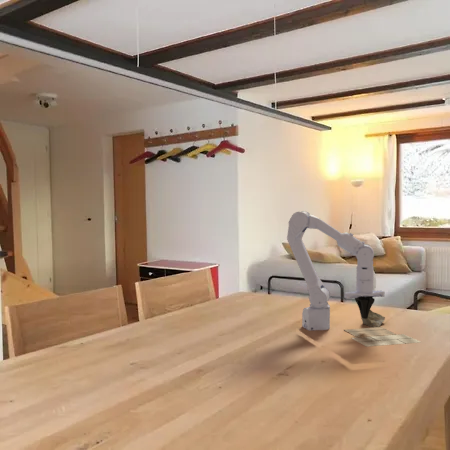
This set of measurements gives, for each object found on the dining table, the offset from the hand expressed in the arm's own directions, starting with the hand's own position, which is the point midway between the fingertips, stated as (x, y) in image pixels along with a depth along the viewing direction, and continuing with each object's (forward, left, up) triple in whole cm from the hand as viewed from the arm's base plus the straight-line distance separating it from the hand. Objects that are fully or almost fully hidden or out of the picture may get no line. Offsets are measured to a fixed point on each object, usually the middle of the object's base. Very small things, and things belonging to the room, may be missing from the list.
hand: (364, 318), depth 173 cm
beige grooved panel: (+1, -12, -6) cm, 13 cm away
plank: (+1, -2, -6) cm, 6 cm away
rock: (+9, +8, -6) cm, 14 cm away
